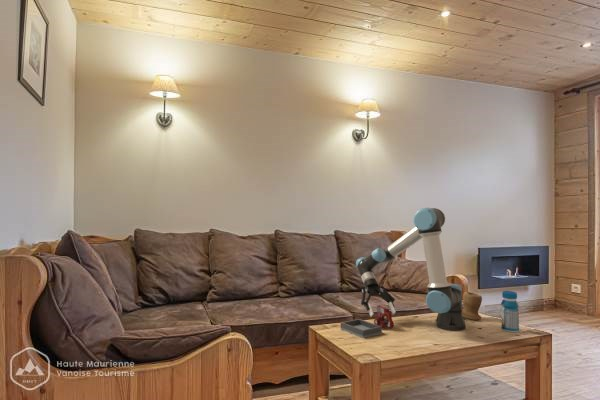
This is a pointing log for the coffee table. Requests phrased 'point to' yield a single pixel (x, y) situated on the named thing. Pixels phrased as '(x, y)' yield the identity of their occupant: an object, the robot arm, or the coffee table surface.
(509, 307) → the beverage bottle
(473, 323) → the coffee table surface
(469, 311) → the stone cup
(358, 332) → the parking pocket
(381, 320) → the toy fire truck
